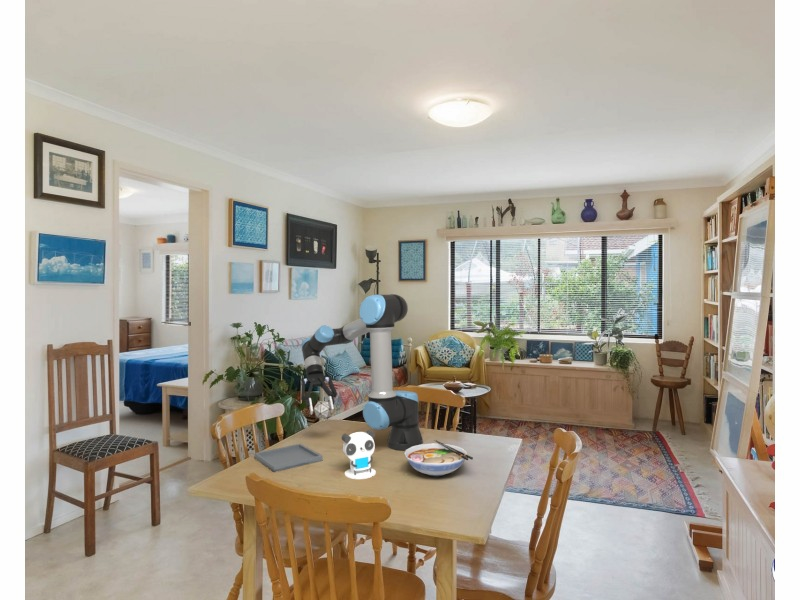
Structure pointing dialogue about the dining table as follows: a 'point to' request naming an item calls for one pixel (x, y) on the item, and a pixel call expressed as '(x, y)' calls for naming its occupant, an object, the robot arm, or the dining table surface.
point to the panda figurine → (359, 454)
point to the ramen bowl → (436, 458)
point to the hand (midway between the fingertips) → (322, 411)
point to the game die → (322, 409)
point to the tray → (288, 457)
